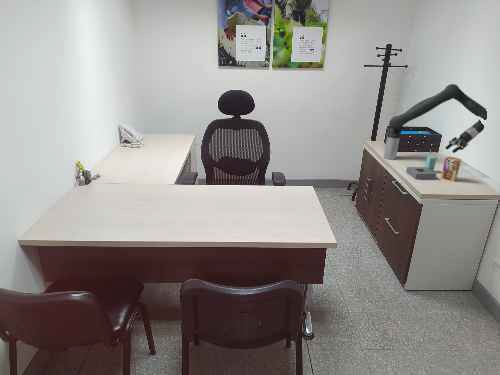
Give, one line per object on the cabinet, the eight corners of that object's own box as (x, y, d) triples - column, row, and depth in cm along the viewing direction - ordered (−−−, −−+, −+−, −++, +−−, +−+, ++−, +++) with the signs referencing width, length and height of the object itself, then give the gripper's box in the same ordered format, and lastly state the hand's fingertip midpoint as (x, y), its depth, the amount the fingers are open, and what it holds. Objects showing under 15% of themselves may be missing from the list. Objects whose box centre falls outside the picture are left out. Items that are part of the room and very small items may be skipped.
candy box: (456, 180, 248) (462, 159, 242) (453, 181, 245) (459, 160, 239) (443, 176, 254) (448, 155, 248) (440, 177, 251) (445, 156, 245)
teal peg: (424, 170, 265) (427, 156, 260) (429, 170, 265) (433, 156, 261) (427, 172, 261) (430, 157, 256) (433, 172, 261) (436, 158, 257)
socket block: (405, 172, 260) (407, 166, 258) (424, 172, 261) (425, 167, 259) (415, 179, 247) (416, 173, 245) (435, 179, 248) (436, 173, 246)
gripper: (460, 128, 259) (441, 144, 263) (472, 133, 246) (452, 149, 250) (465, 136, 261) (446, 151, 265) (478, 141, 248) (458, 157, 252)
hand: (449, 150), depth 257 cm, fingers open, 8 cm apart
